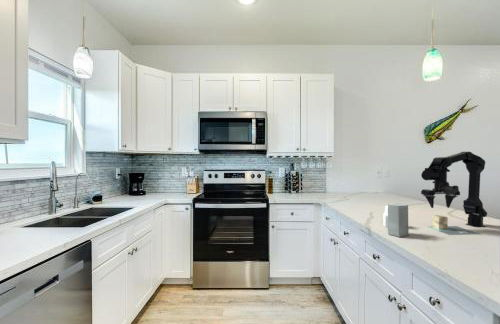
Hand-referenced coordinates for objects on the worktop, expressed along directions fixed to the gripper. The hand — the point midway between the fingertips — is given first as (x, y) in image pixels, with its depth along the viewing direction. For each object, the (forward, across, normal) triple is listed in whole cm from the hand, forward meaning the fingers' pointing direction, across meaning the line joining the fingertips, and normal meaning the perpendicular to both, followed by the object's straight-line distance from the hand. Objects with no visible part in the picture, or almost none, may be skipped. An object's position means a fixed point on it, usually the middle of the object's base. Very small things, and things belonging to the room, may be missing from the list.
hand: (440, 207), depth 149 cm
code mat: (+12, +5, -3) cm, 13 cm away
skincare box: (+12, -30, -9) cm, 34 cm away
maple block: (+12, 0, 0) cm, 12 cm away
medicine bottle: (+12, -24, +7) cm, 28 cm away
